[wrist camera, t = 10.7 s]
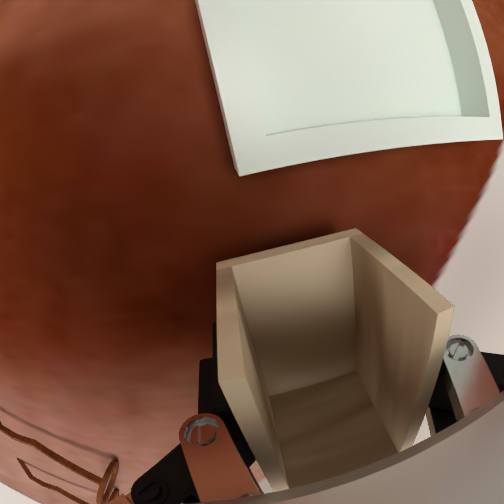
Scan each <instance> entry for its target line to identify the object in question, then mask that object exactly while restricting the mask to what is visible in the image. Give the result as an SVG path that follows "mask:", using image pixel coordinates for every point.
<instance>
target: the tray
mask: <svg viewBox="0 0 504 504" xmlns="http://www.w3.org/2000/svg"><path fill="white" fill-rule="evenodd" d="M195 3H196V7H197V12H198V16H199V20H200V24H201V28H202V33H203V37H204V41H205V45H206V49H207V54H208V58H209V62H210V66H211V70H212V75H213V79H214V83H215V87H216V92H217V96H218V100H219V104H220V109H221V113H222V117H223V121H224V125H225V130H226V134H227V138H228V142H229V147H230V151H231V155H232V159H233V164H234V168H235V170H236V171H237V173H238V175H239V177H240V176H244V175H248V174H253V173H257V172H262V171H266V170H271V169H275V168H280V167H285V166H290V165H295V164H300V163H305V162H310V161H316V160H321V159H327V158H333V157H338V156H344V155H351V154H357V153H363V152H370V151H377V150H384V149H392V148H400V147H408V146H417V145H426V144H437V143H448V142H461V141H476V140H497V139H503V133H502V123H501V114H500V107H499V100H498V94H497V88H496V83H495V78H494V73H493V68H492V64H491V60H490V56H489V52H488V48H487V44H486V41H485V37H484V34H483V31H482V28H481V25H480V22H479V19H478V16H477V13H476V10H475V8H474V5H473V2H472V0H195Z"/></svg>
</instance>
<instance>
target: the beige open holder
mask: <svg viewBox="0 0 504 504" xmlns="http://www.w3.org/2000/svg"><path fill="white" fill-rule="evenodd" d="M216 305H217V357H218V382H219V385H220V387H221V389H222V391H223V393H224V396H225V398H226V400H227V402H228V404H229V406H230V408H231V410H232V413H233V415H234V417H235V419H236V421H237V423H238V425H239V427H240V429H241V431H242V433H243V435H244V437H245V439H246V441H247V443H248V445H249V447H250V449H251V451H252V452H253V454H254V456H255V458H256V460H257V462H258V464H259V466H260V467H261V469H262V471H263V473H264V475H265V477H266V478H267V480H268V482H269V483H270V485H271V487H272V489H273V491H274V492H277V491H282V490H287V489H291V488H295V487H300V486H304V485H308V484H311V483H315V482H319V481H322V480H326V479H329V478H332V477H335V476H339V475H342V474H345V473H348V472H351V471H354V470H356V469H359V468H362V467H365V466H367V465H370V464H372V463H375V462H377V461H380V460H382V459H385V458H387V457H389V456H392V455H394V454H396V453H399V452H401V451H403V450H405V449H407V448H409V447H411V446H412V445H413V443H414V440H415V438H416V436H417V433H418V431H419V428H420V426H421V424H422V421H423V419H424V416H425V413H426V411H427V408H428V405H429V402H430V399H431V396H432V393H433V390H434V387H435V384H436V381H437V378H438V374H439V371H440V368H441V364H442V360H443V357H444V353H445V349H446V345H447V341H448V336H449V332H450V327H451V322H452V317H453V312H454V307H455V306H454V305H453V304H451V303H450V302H449V301H448V300H447V299H446V298H444V297H443V296H442V295H441V294H440V293H438V292H437V291H436V290H435V289H434V288H433V287H431V286H430V285H429V284H428V283H427V282H425V281H424V280H423V279H422V278H420V277H419V276H418V275H417V274H416V273H414V272H413V271H412V270H411V269H409V268H408V267H407V266H405V265H404V264H403V263H402V262H400V261H399V260H398V259H397V258H395V257H394V256H393V255H391V254H390V253H389V252H387V251H386V250H385V249H383V248H382V247H381V246H379V245H378V244H377V243H375V242H374V241H373V240H371V239H370V238H369V237H367V236H366V235H365V234H363V233H362V232H360V231H359V230H358V229H356V228H354V229H350V230H346V231H342V232H338V233H334V234H330V235H326V236H322V237H318V238H314V239H310V240H306V241H302V242H298V243H294V244H290V245H286V246H282V247H277V248H273V249H269V250H265V251H261V252H257V253H253V254H249V255H245V256H241V257H237V258H233V259H229V260H225V261H221V262H217V263H216Z"/></svg>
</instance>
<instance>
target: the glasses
mask: <svg viewBox="0 0 504 504" xmlns="http://www.w3.org/2000/svg"><path fill="white" fill-rule="evenodd" d="M0 431H2V432H3V433H5V434H6V435H8V436H9V437H11V438H12V439H14V440H16V441H19V442H21V443H24V444H27V445H30V446H33V447H34V448H36V449H37V450H39V451H40V452H42V453H43V454H45V455H47V456H48V457H50V458H51V459H53V460H54V461H56V462H58V463H59V464H61V465H63V466H64V467H66V468H68V469H70V470H71V471H73V472H75V473H77V474H79V475H81V476H82V477H84V478H86V479H88V480H90V481H92V482H94V483H96V484H98V485H100V486H99V489H98V493H97V500H96V502H97V504H106V503H108V502H110V501H112V500H113V499H115V498H117V497H118V496H119V491H118V490H116V489H115V490H114V491H113V493H112V495H111V497H110V499H109V495H110V493H111V490H112V488H113V485H114V482H115V479H116V476H117V473H118V467H119V463H118V462H117V461H115V460H113V461H112V462H111V463H110V464H109V466H108V468H107V470H106V472H105V474H104V476H103V478H100V477H98V476H96V475H94V474H92V473H90V472H88V471H86V470H84V469H83V468H81V467H79V466H77V465H75V464H73V463H72V462H70V461H68V460H66V459H65V458H63V457H61V456H60V455H58V454H56V453H55V452H53V451H51V450H50V449H48V448H47V447H45V446H44V445H42V444H41V443H39V442H38V441H36V440H34V439H31V438H28V437H25V436H22V435H19V434H16V433H15V432H13V431H11V430H10V429H8V428H6V427H5V426H3V425H2V424H1V422H0ZM17 460H18V461H19V463H20V465H21V466H22V468H23V469H24V471H25V472H26V474H27V475H28V477H29V478H30V479H31V480H33V481H34V482H36V483H38V484H40V485H41V486H43V487H46V488H49V489H52V490H54V491H57V492H59V493H61V494H62V495H64V496H66V497H68V498H69V499H71V500H73V501H75V502H77V503H79V504H89V503H87V502H85V501H83V500H81V499H79V498H77V497H75V496H73V495H72V494H70V493H68V492H66V491H64V490H63V489H61V488H59V487H57V486H54V485H51V484H48V483H45V482H43V481H41V480H39V479H37V478H36V477H34V476H33V475H32V474H31V472H30V471H29V469H28V468H27V466H26V465H25V463H24V462H23V461H22V460H20V459H18V458H17ZM111 473H112V476H111V479H110V482H109V484H108V487H107V489H106V492H105V494H104V490H105V487H106V484H107V482H108V479H109V477H110V475H111ZM103 494H104V496H103Z"/></svg>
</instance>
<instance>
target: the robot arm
mask: <svg viewBox="0 0 504 504" xmlns="http://www.w3.org/2000/svg"><path fill="white" fill-rule="evenodd" d="M426 417H427V421H428V425H429V430H430V435H431V437H429V438H428V439H426V440H424V441H422V442H420V443H418V444H416V445H414V446H411V447H409V448H407V449H405V450H403V451H401V452H399V453H396V454H394V455H392V456H389V457H387V458H385V459H382V460H380V461H377V462H375V463H372V464H370V465H367V466H365V467H362V468H359V469H356V470H354V471H351V472H348V473H345V474H342V475H339V476H335V477H332V478H329V479H326V480H322V481H319V482H315V483H311V484H308V485H304V486H300V487H295V488H291V489H287V490H282V491H277V492H272V493H267V494H264V493H263V491H262V489H261V488H260V486H259V484H258V482H257V480H256V479H255V477H254V475H253V473H252V471H251V469H250V466H251V465H252V464H253V463H254V461H255V460H256V459H255V456H254V454H253V452H252V451H251V449H250V447H249V445H248V443H247V441H246V439H245V437H244V435H243V433H242V431H241V429H240V427H239V425H238V423H237V421H236V419H235V417H234V415H233V413H232V410H231V408H230V406H229V404H228V402H227V400H226V398H225V396H224V393H223V391H222V389H221V387H220V385H219V382H218V357H217V322H213V358H208V359H203V360H201V361H200V367H199V396H198V415H194V416H192V417H190V418H189V419H188V420H186V421H185V422H184V423H183V425H182V426H181V428H180V431H179V440H180V444H179V445H178V446H177V447H175V448H174V449H173V450H172V451H171V452H170V453H168V454H167V455H166V456H165V457H164V458H163V459H161V460H160V461H159V462H158V463H157V464H156V465H154V466H153V467H152V468H151V469H149V470H148V471H147V472H146V473H145V474H143V475H142V476H141V477H140V478H138V479H137V480H136V481H135V483H134V484H133V486H132V488H131V493H129V494H128V495H124V494H122V495H120V496H118V497H117V498H115V499H113V500H112V501H110V502H108V503H106V504H504V355H500V354H492V353H485V352H480V351H479V348H478V347H477V345H476V343H475V342H474V341H473V340H472V339H470V338H469V337H466V336H464V335H452V336H449V337H448V341H447V345H446V349H445V353H444V357H443V360H442V364H441V368H440V371H439V374H438V378H437V381H436V384H435V387H434V390H433V393H432V396H431V399H430V402H429V405H428V408H427V411H426Z"/></svg>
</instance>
